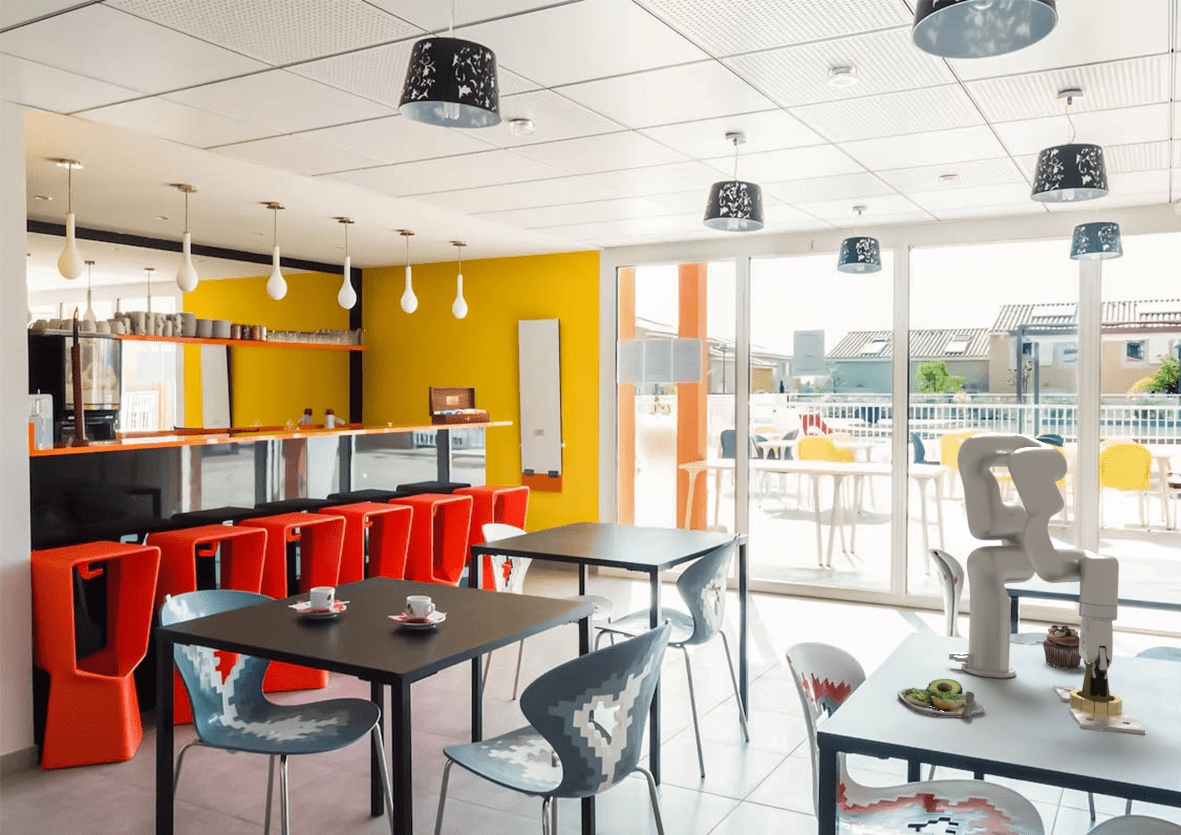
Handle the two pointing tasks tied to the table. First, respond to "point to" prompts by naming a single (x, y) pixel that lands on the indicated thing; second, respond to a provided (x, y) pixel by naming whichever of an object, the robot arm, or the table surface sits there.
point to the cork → (1086, 684)
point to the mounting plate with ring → (1098, 711)
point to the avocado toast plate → (942, 699)
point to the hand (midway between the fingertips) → (1095, 692)
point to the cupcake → (1062, 647)
